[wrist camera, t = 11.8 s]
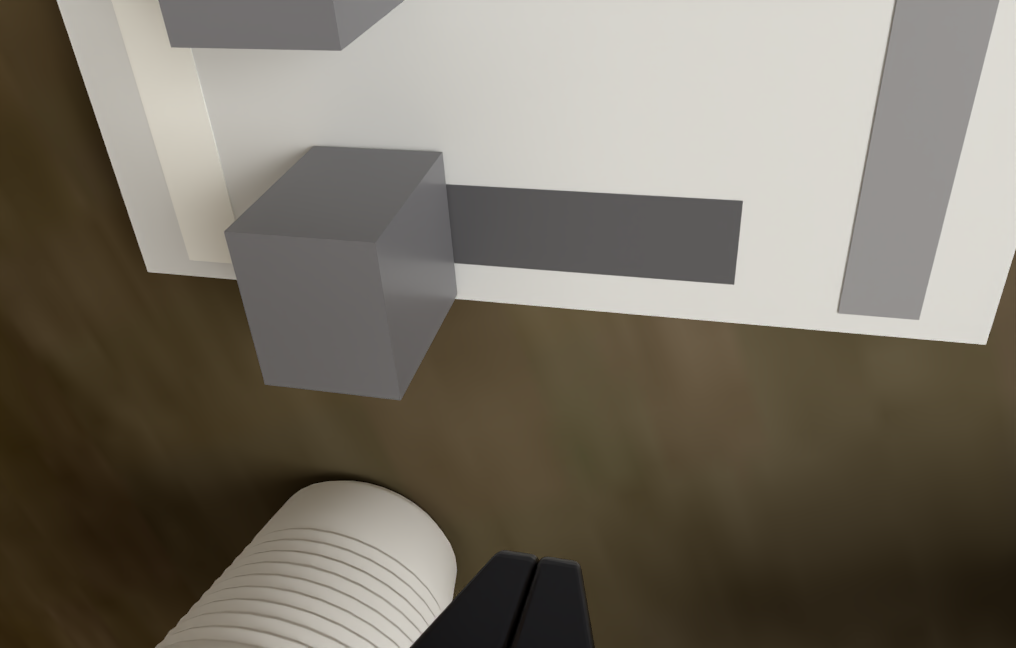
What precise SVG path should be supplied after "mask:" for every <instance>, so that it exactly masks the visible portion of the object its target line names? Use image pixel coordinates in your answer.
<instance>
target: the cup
mask: <svg viewBox="0 0 1016 648" xmlns="http://www.w3.org/2000/svg"><path fill="white" fill-rule="evenodd" d="M456 574H457V566H456V558H455V555H454V552H453V549H452V547H451V544H450V543H449V541H448V539H447V538H446V536H445V535H444V533H443V532H442V530H441V529H440V528H439V527H438V525H437V524H436V523H435V522H434V521H433V519H432V518H431V517H430V516H429V515H428V514H427V513H426V512H425V511H423V510H422V509H421V508H420V507H418V506H417V505H416V504H415V503H413V502H412V501H410V500H408V499H407V498H405V497H403V496H402V495H400V494H398V493H396V492H393V491H391V490H389V489H387V488H384V487H381V486H377V485H374V484H370V483H366V482H359V481H326V482H321V483H316V484H312V485H310V486H308V487H305V488H303V489H301V490H299V491H298V492H297V493H295V494H294V495H293V496H292V497H290V499H289V500H288V501H287V502H286V503H285V504H284V505H283V506H282V507H281V508H280V510H279V511H278V512H277V513H276V514H275V515H274V516H273V517H272V518H271V519H270V521H269V522H268V523H267V524H266V525H265V526H264V527H263V528H262V529H261V530H260V532H259V533H258V534H257V535H256V536H255V538H254V539H253V541H252V542H251V543H250V544H249V545H248V546H246V547H245V549H244V550H243V552H242V553H241V554H240V555H239V556H238V557H236V558H235V560H234V561H233V563H232V564H231V565H230V566H229V567H228V568H226V569H225V571H224V572H223V574H222V575H221V577H219V578H218V579H217V580H215V582H214V583H213V585H212V586H211V588H210V589H209V590H207V591H206V592H205V593H204V594H203V595H202V597H201V598H200V600H199V601H198V602H197V603H195V604H194V605H193V606H192V607H191V609H190V610H189V612H188V613H187V614H186V615H185V616H183V617H182V618H181V619H180V621H179V622H178V624H177V625H176V627H174V628H173V629H172V630H170V631H169V633H168V634H167V636H166V637H165V639H164V640H163V641H162V642H160V643H159V644H157V646H156V647H155V648H410V647H411V645H412V644H413V643H414V642H415V641H416V640H417V639H418V638H419V637H420V636H421V635H422V633H423V632H424V631H425V630H426V629H427V628H428V627H429V626H430V625H431V624H432V623H433V621H434V620H435V619H436V618H437V617H438V616H439V615H440V614H441V613H442V612H443V611H444V609H445V608H446V607H447V606H448V605H449V604H450V603H451V602H452V599H453V593H454V587H455V580H456Z"/></svg>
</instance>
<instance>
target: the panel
mask: <svg viewBox="0 0 1016 648" xmlns="http://www.w3.org/2000/svg"><path fill="white" fill-rule="evenodd" d="M57 3H58V6H59V9H60V12H61V15H62V18H63V21H64V24H65V26H66V29H67V32H68V35H69V38H70V41H71V44H72V47H73V50H74V53H75V56H76V59H77V62H78V65H79V68H80V71H81V74H82V77H83V80H84V83H85V86H86V89H87V92H88V95H89V98H90V101H91V104H92V107H93V110H94V113H95V116H96V119H97V122H98V125H99V128H100V131H101V134H102V137H103V140H104V143H105V146H106V149H107V152H108V155H109V158H110V161H111V164H112V167H113V170H114V173H115V176H116V179H117V182H118V184H119V187H120V190H121V193H122V196H123V199H124V202H125V205H126V208H127V211H128V214H129V217H130V220H131V223H132V226H133V229H134V232H135V235H136V238H137V241H138V244H139V247H140V250H141V253H142V256H143V259H144V262H145V265H146V268H147V271H148V272H153V273H165V274H176V275H188V276H199V277H211V278H222V279H234V280H237V279H236V275H235V271H234V268H233V264H232V260H231V257H230V253H229V249H228V246H227V242H226V238H225V234H224V231H225V230H226V229H227V228H228V227H229V226H230V225H231V224H232V223H233V222H234V221H235V220H236V219H238V218H239V217H240V216H241V215H242V214H243V213H244V212H245V211H246V210H247V209H248V208H249V207H250V206H251V205H252V204H253V203H254V202H255V201H256V200H257V199H258V198H260V197H261V196H262V195H263V194H264V193H265V192H266V191H267V190H268V189H269V188H270V187H271V186H272V185H273V184H274V183H275V182H276V181H277V180H278V179H279V178H280V177H281V176H283V175H284V174H285V173H286V172H287V171H288V170H289V169H290V168H291V167H292V166H293V165H294V164H295V163H296V162H297V161H298V160H299V159H300V158H301V157H302V156H303V155H304V154H306V153H307V152H308V151H309V150H310V149H311V148H312V147H313V146H325V147H347V148H368V149H389V150H411V151H432V152H443V162H444V171H445V181H446V190H447V200H448V209H449V219H450V228H451V238H452V247H453V257H454V266H455V276H456V285H457V296H456V298H455V299H465V300H476V301H488V302H499V303H511V304H522V305H534V306H545V307H557V308H568V309H580V310H591V311H603V312H614V313H626V314H637V315H649V316H661V317H672V318H684V319H695V320H707V321H718V322H730V323H741V324H753V325H764V326H776V327H787V328H799V329H810V330H822V331H833V332H845V333H857V334H868V335H880V336H891V337H903V338H914V339H926V340H937V341H949V342H960V343H972V344H983V345H986V343H987V339H988V336H989V333H990V330H991V327H992V323H993V320H994V317H995V314H996V310H997V307H998V304H999V301H1000V297H1001V294H1002V291H1003V288H1004V285H1005V281H1006V278H1007V275H1008V272H1009V268H1010V265H1011V262H1012V259H1013V256H1014V252H1015V249H1016V0H404V1H403V2H402V3H401V4H399V5H398V6H397V7H396V8H394V9H393V10H392V11H391V12H389V13H388V14H387V15H386V16H384V17H383V18H382V19H381V20H379V21H378V22H377V23H376V24H374V25H373V26H372V27H370V28H369V29H368V30H367V31H365V32H364V33H363V34H362V35H360V36H359V37H358V38H357V39H355V40H354V41H353V42H352V43H350V44H349V45H348V46H347V47H345V48H344V49H343V50H342V51H326V50H276V49H225V48H175V47H171V45H170V41H169V38H168V34H167V30H166V27H165V23H164V19H163V16H162V12H161V8H160V5H159V1H158V0H57Z"/></svg>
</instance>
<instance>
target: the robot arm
mask: <svg viewBox="0 0 1016 648" xmlns="http://www.w3.org/2000/svg"><path fill="white" fill-rule="evenodd" d="M410 648H595V646H594V640H593V634H592V628H591V622H590V617H589V611H588V605H587V599H586V593H585V587H584V581H583V575H582V570H581V566H580V565H579V563H578V562H576V561H573V560H567V559H560V558H554V557H543V558H541V559H540V561H539V559H538V557H536V556H535V555H533V554H528V553H521V552H514V551H508V550H502V551H500V552H498V553H496V554H495V555H494V556H493V557H492V558H491V559H490V560H489V561H488V563H487V564H486V565H485V566H484V567H483V568H482V569H481V570H480V571H479V572H478V573H477V575H476V576H475V577H474V578H473V579H472V580H471V581H470V582H469V583H468V584H467V585H466V587H465V588H464V589H463V590H462V591H461V592H460V593H459V594H458V595H457V596H456V597H455V599H454V600H453V601H452V602H451V603H450V604H449V605H448V606H447V607H446V608H445V609H444V611H443V612H442V613H441V614H440V615H439V616H438V617H437V618H436V619H435V620H434V621H433V623H432V624H431V625H430V626H429V627H428V628H427V629H426V630H425V631H424V632H423V633H422V635H421V636H420V637H419V638H418V639H417V640H416V641H415V642H414V643H413V644H412V645H411V647H410Z"/></svg>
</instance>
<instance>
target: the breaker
mask: <svg viewBox="0 0 1016 648" xmlns="http://www.w3.org/2000/svg"><path fill="white" fill-rule="evenodd" d="M224 234H225V238H226V242H227V246H228V249H229V253H230V257H231V260H232V264H233V268H234V271H235V275H236V279H237V283H238V286H239V290H240V294H241V297H242V301H243V305H244V308H245V312H246V316H247V320H248V323H249V327H250V331H251V334H252V338H253V342H254V345H255V349H256V353H257V356H258V360H259V364H260V368H261V371H262V375H263V379H264V382H265V385H274V386H282V387H291V388H299V389H308V390H317V391H325V392H334V393H343V394H351V395H360V396H368V397H377V398H386V399H394V400H401V399H402V397H403V395H404V393H405V391H406V389H407V388H408V386H409V384H410V382H411V380H412V378H413V376H414V374H415V373H416V371H417V369H418V367H419V365H420V363H421V361H422V360H423V358H424V356H425V354H426V352H427V350H428V348H429V346H430V345H431V343H432V341H433V339H434V337H435V335H436V333H437V331H438V330H439V328H440V326H441V324H442V322H443V320H444V318H445V317H446V315H447V313H448V311H449V309H450V307H451V305H452V303H453V302H454V300H455V298H456V296H457V285H456V276H455V266H454V257H453V247H452V238H451V228H450V219H449V209H448V200H447V190H446V181H445V171H444V162H443V152H432V151H411V150H389V149H368V148H347V147H325V146H313V147H312V148H311V149H310V150H309V151H308V152H307V153H306V154H304V155H303V156H302V157H301V158H300V159H299V160H298V161H297V162H296V163H295V164H294V165H293V166H292V167H291V168H290V169H289V170H288V171H287V172H286V173H285V174H284V175H283V176H281V177H280V178H279V179H278V180H277V181H276V182H275V183H274V184H273V185H272V186H271V187H270V188H269V189H268V190H267V191H266V192H265V193H264V194H263V195H262V196H261V197H260V198H258V199H257V200H256V201H255V202H254V203H253V204H252V205H251V206H250V207H249V208H248V209H247V210H246V211H245V212H244V213H243V214H242V215H241V216H240V217H239V218H238V219H236V220H235V221H234V222H233V223H232V224H231V225H230V226H229V227H228V228H227V229H226V230H225V231H224Z"/></svg>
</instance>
